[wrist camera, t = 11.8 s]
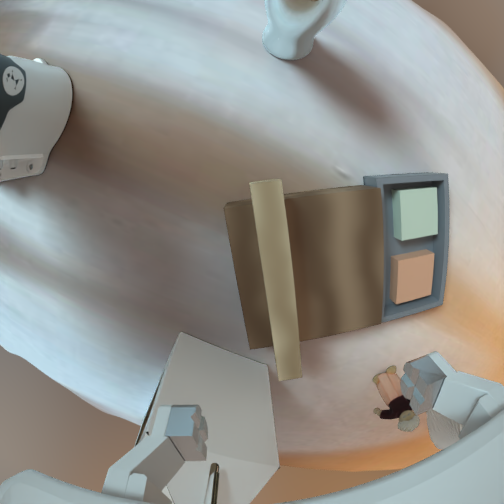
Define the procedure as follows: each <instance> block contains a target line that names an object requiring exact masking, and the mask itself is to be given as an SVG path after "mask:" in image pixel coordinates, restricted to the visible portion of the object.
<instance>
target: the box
mask: <svg viewBox="0 0 504 504" xmlns="http://www.w3.org/2000/svg"><path fill="white" fill-rule="evenodd" d="M363 179H364V185H365V186H371V187H378V188H381V196H382V212H383V235H384V281H383V305H382V320H381V323H383V322H387V321H390V320H394V319H398V318H401V317H405V316H408V315H411V314H415V313H418V312H421V311H424V310H428V309H431V308H434V307H437V306H440V305H442V304H443V298H444V290H445V282H446V273H447V262H448V247H449V184H448V174H445V173H433V172H431V173H408V174H391V175H377V176H365V177H363ZM421 186H431V187H437V204H438V234H435V235H430V236H425V237H419V238H414V239H408V240H403V241H401V240H399V239H397V238H395V237H394V226H393V205H392V191H391V189H398V188H409V187H421ZM424 249H427V250H429V251H431V252H433V253H434V268H433V280H432V289H431V295H428V296H425V297H421V298H418V299H414V300H410V301H407V302H403V303H399V304H395V303H394V302H393V301H392V300H391V299H390V298H389V297H390V273H391V256H394V255H399V254H404V253H409V252H414V251H419V250H424Z"/></svg>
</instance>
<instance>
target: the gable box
mask: <svg viewBox="0 0 504 504" xmlns="http://www.w3.org/2000/svg"><path fill="white" fill-rule="evenodd" d="M160 405H199V406H200V408H201V410H202V412H201V415H202V416H203V417H205V419H206V422H207V426H208V439H207V440H206V441H205V444H206V446H207V457H206V461H185V463H184V464H183V466H182V467H181V468H180V469H179V471H178V472H177V473H176V474H175V476H174V477H173V478H172V479H171V480H170V482H169V483H168V484H167V485H166V486H165V488H164V489H163V490H162V491H161V492H163V493H164V494H165V495H166V496H167V497H168V498H169V499H170V500H171V501H172V504H250V502H251V501H252V500H253V499H254V498H255V496H256V495H257V494H258V493H259V492H260V491H261V489H262V488H263V487H264V486H265V484H266V483H267V482H268V481H269V479H270V478H271V477H272V476H273V474H274V473H275V472H276V471H277V470H278V469H279V468H280V464H279V456H278V447H277V439H276V431H275V422H274V414H273V406H272V398H271V389H270V381H269V373H268V366H267V365H265V364H262V363H259V362H257V361H254V360H251V359H248V358H245V357H243V356H240V355H237V354H235V353H232V352H229V351H227V350H224V349H222V348H219V347H217V346H214V345H212V344H209V343H207V342H204V341H202V340H199V339H197V338H195V337H192V336H190V335H188V334H185V333H183V332H180V333H179V335H178V337H177V340H176V342H175V344H174V347H173V349H172V351H171V354H170V356H169V358H168V361H167V363H166V365H165V368H164V370H163V372H162V375H161V377H160V380H159V382H158V384H157V387H156V389H155V392H154V394H153V396H152V399H151V401H150V404H149V406H148V409H147V411H146V414H145V416H144V419H143V422H142V425H141V428H140V431H139V434H138V437H137V440H136V443H135V446H136V445H137V444H139V443H140V442H141V441H142V440H143V439H144V438H146V437H147V436H151V434H152V430H153V427H154V423H155V419H156V415H157V412H158V408H159V407H160ZM135 446H134V447H135ZM217 466H218V472H216V471H217Z"/></svg>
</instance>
